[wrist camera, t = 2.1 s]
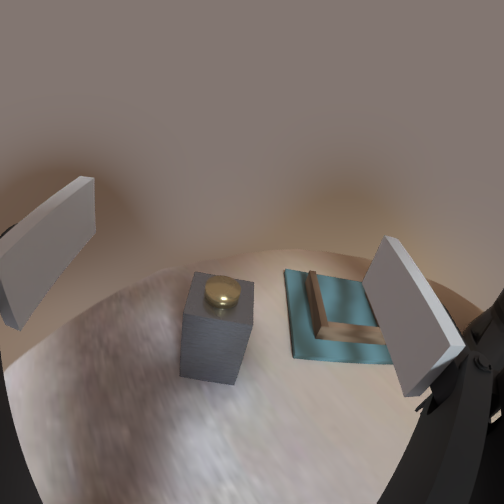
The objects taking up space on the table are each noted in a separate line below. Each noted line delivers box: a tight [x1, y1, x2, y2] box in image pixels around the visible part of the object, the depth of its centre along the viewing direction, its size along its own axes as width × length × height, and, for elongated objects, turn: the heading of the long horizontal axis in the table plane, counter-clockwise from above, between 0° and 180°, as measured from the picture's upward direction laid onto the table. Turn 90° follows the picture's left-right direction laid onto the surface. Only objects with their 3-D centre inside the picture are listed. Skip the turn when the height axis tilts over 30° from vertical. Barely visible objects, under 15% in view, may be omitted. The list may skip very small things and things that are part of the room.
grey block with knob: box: [180, 272, 254, 385], centre depth 30 cm, size 6×6×11 cm
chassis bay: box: [284, 269, 393, 364], centre depth 43 cm, size 18×18×3 cm
